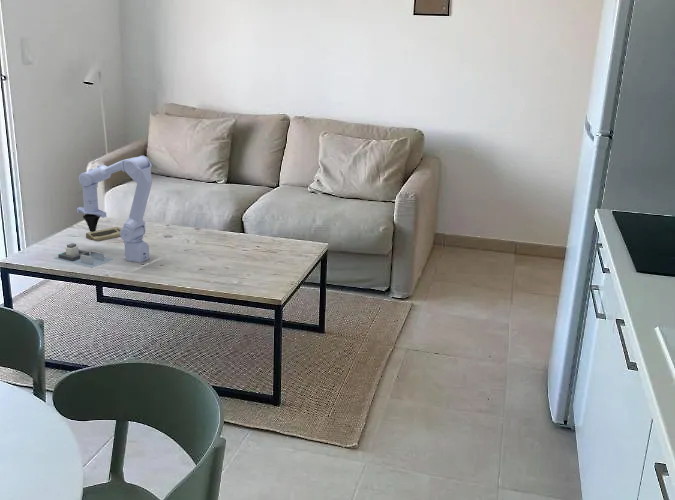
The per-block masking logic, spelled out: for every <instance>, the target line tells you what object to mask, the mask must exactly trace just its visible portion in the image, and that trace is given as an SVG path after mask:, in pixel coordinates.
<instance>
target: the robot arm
mask: <svg viewBox="0 0 675 500" xmlns="http://www.w3.org/2000/svg"><path fill="white" fill-rule="evenodd" d="M152 166H153V165H152V163H151V161H150V160H149V158H148V157H147V156H145V155H139V156H135V157H134V156H133V157H130V158H126V159H122V160H119V161H118V162H115V163H113V164H110V165H108V166H107V165H103V164H98V165H97V166H96V167H95V168H89V169H88V171H85V172H81V173H80V174H79V175H78V183H79V184H80V186H81V188H82V189H81V190H82V199H83V200H82V201H83V206H79V207H76V213H77V214H80V213H82V214H83V215H82V218H83V220H84V221H85V223H86V224H87V227H88V230H89V232H94V231H97V225H98V223H99V220H100V218H107V212H106V211H103V210H101V209H99V200H98V199H99V198H98V184H99V183H101V182H102V181H105V180H108V179H110V178H111V177H112V174H115V173H117V172H120V171H122V172H123V173H126V174H127V175H128V176H129V177H130V178H131V179H132V181H134V182H135V183H136V188H135V190H134V191H135V192H134V195H133V198H132V199H133V200H132V204H131V209H130V212H129V215H128V219H126V221H124V223H123V227H122V228H121V230H120V236H121V237H120V238H121V239H122V241H123V243H124V255H125V256H124V257H125V261H128V262H133V263H134V262H135V263H140V264H141V263H143V262H145V261H147V260H150V247H149V243H147V242H145V241H144V240H143V239H144V236H145V234H146V221H145V220H144V216H145V212H146V208H147V205H148V204H147V203H148V200H149V196H150V192H151V188H152V185H153V179H152V178H153V177H152V171H151V170H152Z"/></svg>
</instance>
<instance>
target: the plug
mask: <svg viewBox="0 0 675 500" xmlns="http://www.w3.org/2000/svg"><path fill="white" fill-rule="evenodd" d="M78 249H79V246H78V245H77V243H73V242H72V243H69V244H66V246H65V252H66V255H69V256H75V255H78V254H79V251H78Z"/></svg>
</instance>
